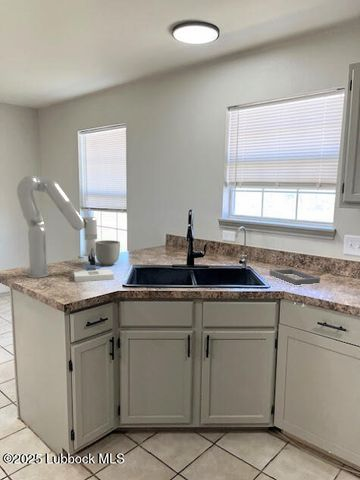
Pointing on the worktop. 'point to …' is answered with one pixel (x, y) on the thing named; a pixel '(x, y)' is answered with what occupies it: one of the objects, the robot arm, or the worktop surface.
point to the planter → (107, 252)
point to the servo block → (90, 267)
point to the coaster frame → (308, 278)
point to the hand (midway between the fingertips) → (91, 263)
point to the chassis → (93, 275)
